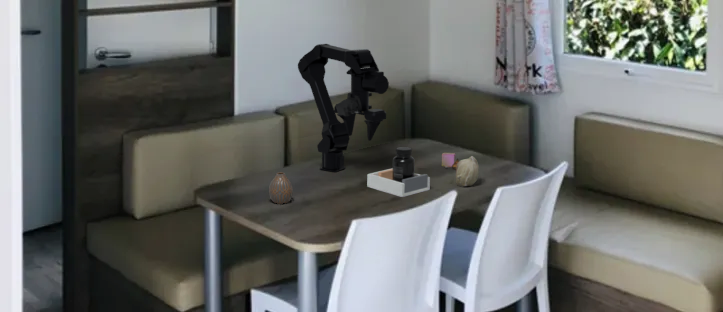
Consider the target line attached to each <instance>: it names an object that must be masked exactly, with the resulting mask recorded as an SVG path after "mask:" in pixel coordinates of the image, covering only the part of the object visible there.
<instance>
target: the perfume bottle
mask: <svg viewBox="0 0 723 312" xmlns="http://www.w3.org/2000/svg"><path fill="white" fill-rule="evenodd" d="M456 156H457V155H456V153H455V152H442V154H441V167H444V168H445V169H447V168H448V169H449V168H451V169H452V170H453V171H454V170H455V171H456V167H457V163H458V162H459V161H460V160H459V158H456Z"/></svg>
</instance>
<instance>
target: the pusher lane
mask: <svg viewBox="0 0 723 312" xmlns="http://www.w3.org/2000/svg"><path fill="white" fill-rule="evenodd" d="M390 169H393V167H392V168H388V169H384V170H379V171H375V172H370V173H368V174H367V175H366V176H367V177H366V178H367V180H366V181H367V182H366V183H367V184H366V185H367V186H366V187H367V188H371V189H374V190H377V191H380V192H384V193H386V194H390V195H394V196H397V197H401V198H404V197H407V196H411V195H414V194H418V193H422V192H427V191H429V190H431V189H430V186H431V177H430V176H429V175H428V174H427V173H423V174H419V173H415V177H411V178H407V179H403V180H402V183H401V182H397V181H394V180H390V179H387V178H383V177H380V176H378V172H382V171H386V170H390Z"/></svg>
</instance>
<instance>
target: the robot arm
mask: <svg viewBox="0 0 723 312" xmlns="http://www.w3.org/2000/svg"><path fill="white" fill-rule="evenodd" d="M329 60H333V61H337V62H340V63H343V64H344V65H345V66H346V67H348V68H349V69H348V70H347V71H346V75H350V92H348V93H347V98H345V99H343V100H342V101H340V102H338V103H336V104H335V105H334V106H333V103H332V99H331V96H330V95H329V91H328V88H327V85H326V82H325V79H324V78H325V75H326V68H325V67H326V65H327V64H328V62H329ZM297 69H298V72H299V74H300V76H301V78H302V80H303V81H305V82H306V83H307V84H308V85H309V88H310V90H311V92H312V96H313V98H314V101H315V104H316V107H317V110H318V112H319V116H320V120H321V122H322V128H321V129H322V130H321V137H322V139H321V140H320V141H319V142H318V143H317V145H316V147H317V151H318V152H319V153H321V167H319V170H321V171H326V172H332V173H333V172H334V173H337V172H339V171H341V170H344V169H346V166H345V155H344V154H343V153H344V152H343V151H347V149H348V146H349V142H350V137H351V136H352V135H353V132H354V127H355V120H356V116H357V115H361V116H364V118H365V119H364V120H363V122H364V123H365V124H366V130H367V141H368V142H370V141H372V140H373V137H374V135H375V133H376V131H377V130H378V127H379V126H380V124H381V122H384V120H387V112H386V111H385V109H379V108H373V107H372V105H371V104H370V97H372V96H373V93H374V94H379V95H384V94H385V93H386V92H387V91H388V89H389V87H390V86H389V84H390V83H389V80H388V78H387V76H385V72H384V71H380V69H379V67H378V64H377V62H376V61H375V58H374V57H373V54H372V52H371V50H369V49H348V48H344V47H339V46H335V45H331V44H328V43H320V44H316V45H315V46H313V48H312V49H311V50H310V51H308V52H307V53H305V54H304V55H303V56H302V57H301V58H299V61H298V63H297ZM337 116H338V117H340V118H341V119H342V122H341V121H340V120H339V119H338V117H337Z"/></svg>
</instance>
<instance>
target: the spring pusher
mask: <svg viewBox="0 0 723 312" xmlns="http://www.w3.org/2000/svg"><path fill="white" fill-rule="evenodd" d="M389 169H390V170H387V169H385V170H386V171H383V170H381V171H382V172H379V171H377V172H378V176H380V177H383V178H387V179H390V180H392V173H393V169H392V168H389Z"/></svg>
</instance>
